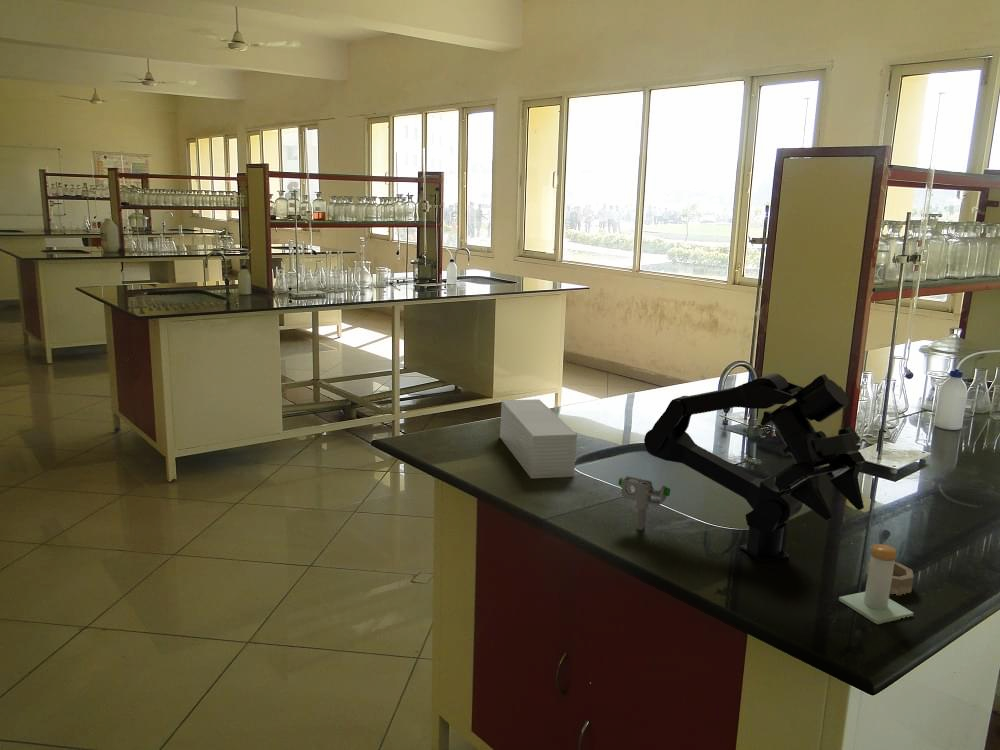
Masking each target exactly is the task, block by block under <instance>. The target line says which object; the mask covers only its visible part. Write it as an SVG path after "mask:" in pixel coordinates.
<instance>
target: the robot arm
mask: <svg viewBox="0 0 1000 750" xmlns="http://www.w3.org/2000/svg"><path fill="white" fill-rule="evenodd" d="M794 400H795V401H794ZM792 401H794V402H793V403H791V404H790V405H787V404H788V403H789V402H792ZM849 403H850V401H849V397H848V395H847V394H846V392H845V390H844V389H843V388H842V386H839V384H837V383H836V382H835V381H834V380H832V379H830V378H829V377H828V376H827V375H826V374H821V375H819V376H817V377H815V378H814V379H813V381H812V382H810V383H808V384H807V385H805V386H804V387H803V386H801V385H798V384H794V383H793V382H789V381H788V380H787V379H786V378H785V377H784V376H783V375H782V374H780V373H770V374H767V375H764V376H761V377H760V376H759V377H758V378H755V379H753V380H750V381H747V382H745V383H743V384H740V385H738V386H735V387H734V386H733V387H728V388H723V389H717V390H713V391H709V392H708V391H706V392H703V393H698V394H692V395H682V396H679V397H675V398H673V399H672V400H670V402H669V404H668V405H667V407H666V409H665V410H664V412H663V413H662V414H661V416H660V417H659V418H658V419H657V421H656V422H655V423H654V425H653V426H652V428H651V429H649V430H648V431H647V432H646V433H645V436H644V439H643V444H644V446H645V447H644V448H645V450H646V452H647V453H648V454H649V455H650V456H653V457H655V458H658V459H659V460H662V461H663V460H664V461H667V462H673V463H678V464H683V465H684V466H687V467H688V468H690V469H692V470H693V471H695V472H697V473H699V474H700V475H702V476H704V477H705V478H708V479H710V480H711V481H712V482H715V483H717V484H718V485H721V487H724V488H725V489H727V490H729V491H731V493H734V494H736V495H738V496H740V497H742V498H743V499H745V501H746V502H747V503H748V505H749V506H750V508H751V509H752V510H751V511H750V512H747V513H746V514H745V520H746V525H747V526H748V533H747V541H746V542H747V543H746V544H742V545H740V549H742V550H743V551H745V553H747V554H749V555H750V556H751V557H754V558H756V559H757V560H759V561H760V562H763V563H764V562H772V561H777V560H783V559H788V558H790V555H789V554H788V553H787V552H786V551H785V549H786V542H787V535H788V530H787V526H788V524H787V522H788V521H790V519H791V518H793V517H794V516H796V515H797V514H798V513H800V511H801V510H802V509H803V504H804V505H805V506H806V507H808V508H809V509H810V510H812V511H813V512H815V513H816V514H817V515H819V516H820V517H821V518H823V519H825V520H826V521H829V520H831V519H832V518H833V515H832V513H831V511H830V508H829V506H828V504H827V502H826V500H825V498H824V496H823V494H822V492H821V490H820V487H819V482H820V481H819V480H820V476H821V475H826V476H828V477H829V478H831V480H830V481H829V483H831V484H832V485H833V486H834V487H835V488H836V489H837V490H838V491H839V492H840V493H841V495H842V496H843V497H844V498H846V500H847V501H848V502H849V503H850V504H851V505H852V506H853V507H854V508H855V509H856V510H857V511H861V510H863V509H864V508H865V506H864V501H863V497H862V492H861V488H860V485H859V484H860V483H859V474H860V472H861V469H862V468H863V467H864V464H863V463H865V462H866V460H865V458H864V456H863V455H862V453H861V451H858V450H859V448H858V444H859V443H860V441H861V437H860V436H859V435H858V433H857V432H856V431H855V430H854V428H853V427H852V426H850V427H845V428H840V429H838V433H837V435H831V436H827V434H826V433H825V432H824V431H822V430H819V431H816V429H815V428H814V426H813V424H812V423H811V421H816V422H817V423H823V421H825V420H827V419H828V418H830V417H831V416H833V415H834V414H836V413H838V412H840V411H841V410H843V409H845V408H846V407H847V406H849ZM777 405H780V406H779V407H777V408H775V409H774V410H771V411H770V410H769V411H768V410H766V409H769V408H772V407H774V406H777ZM733 408H743V409H748V410H750V409H752V410H753V409H756V410H759V409H761V410H762V409H763V410H764V409H765V410H766V411H763V416H762V418H761V421H760V426H761V427H768V426H774V428H775V429H776V430H777V433H778V434H779V437H780V438H781V439H782V441H783V443H784V445H785V448H782V451H783V453H784V454H785V455H789V454H790V455H791V457H792V458H793V460H794V461H795V463H793V464H790V465H789V466H787V467H786V468H785V469H783V470H782V471H780V472H779V473H777V474H771V475H770V476H768V477H766V478H765V479H764V478H759V477H757V476H756V475H753V474H752V473H750V472H748V471H746V470H744V469H742V468H740V467H738V466H736V465H735V464H733V463H731V462H729V461H727V460H725V459H724V458H722V457H720V456H718V455H716V454H715V453H713V452H710V451H709V450H707V449H705V448H703V447H701V446H700V445H698V444H697V443H696V442H695V441H694V439H693V438H692V436H690V434H689V433H687V430H688V427H689V425H690V422H691V418H692V416H693V415H699V414H704V413H709V412H715V411H721V410H726V409H727V410H728V409H733Z"/></svg>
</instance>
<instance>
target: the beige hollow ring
mask: <svg viewBox="0 0 1000 750" xmlns="http://www.w3.org/2000/svg"><path fill="white" fill-rule="evenodd" d="M869 563H870V560H867V563H866V564H867V565H866V570H865V579H864V585H863V587H864V588H866V584H867V577H868V570H869ZM914 579H915V576H914V572H913V569H911V568H909V567H907V566H905V565H904V564H902V563H899V562H897V561H895V562H894V569H893V575H892V582H891V588H890V595H893V594H896V595H895V596H903V595H902V594H904V595H907V594H906V593H909V594H911V593H912V589H913V583H914ZM910 592H911V593H910Z"/></svg>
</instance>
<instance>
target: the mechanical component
mask: <svg viewBox="0 0 1000 750" xmlns="http://www.w3.org/2000/svg"><path fill="white" fill-rule="evenodd" d="M618 485H619V486H620V488H621V491H620V492H621V496H622V497H623V498H624V499H628V500H631V501H635V502H636V505H635V508H636V509H637V518H636V520H637V521H636V529H637V530H639V531H642V530H644V529H645V527H646V516H647V511H648V510H649V509H650V506H649V505H652V506H660V505H662V503H664V502H665V500H666V499H667V497H669V496H670V494H671V488H669V487H667V486H666V485H662V486H661V487H660V489H659V490H656V489H655V487H654V485H653V482H652V481H650V480H647V479H642V478H639V477H638V478H637V477H633V476H629V475H626V476H624V477H620V478H619V479H618ZM632 487H633V488H634V489H633V488H632ZM655 497H656V498H655Z"/></svg>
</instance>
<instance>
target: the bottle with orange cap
mask: <svg viewBox="0 0 1000 750" xmlns="http://www.w3.org/2000/svg"><path fill="white" fill-rule="evenodd" d="M897 552H898V551H897V549H895V548H894V547H892V546H891V545H887V544H883V543H882V544H881V543H874V544H871V546H870V557H869V558H870V559H869V561H870V563H869V570H868V577H867V584H866V587H865V590H864V592H865V597H864V604H865V605H867V606H868V607H870V608H873V609H877V610H885V609H887V608H888V601H889V599H890V595H891V594H890V588H891V582H892V575H893V569H894V562H896V559H897Z"/></svg>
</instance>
